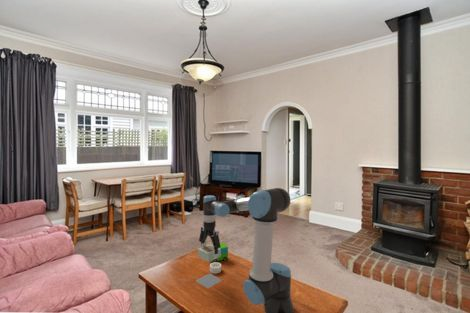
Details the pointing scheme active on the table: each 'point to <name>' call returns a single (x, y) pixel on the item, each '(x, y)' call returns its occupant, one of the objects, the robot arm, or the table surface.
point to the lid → (208, 252)
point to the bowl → (215, 267)
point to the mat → (208, 280)
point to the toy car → (222, 253)
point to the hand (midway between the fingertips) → (209, 255)
